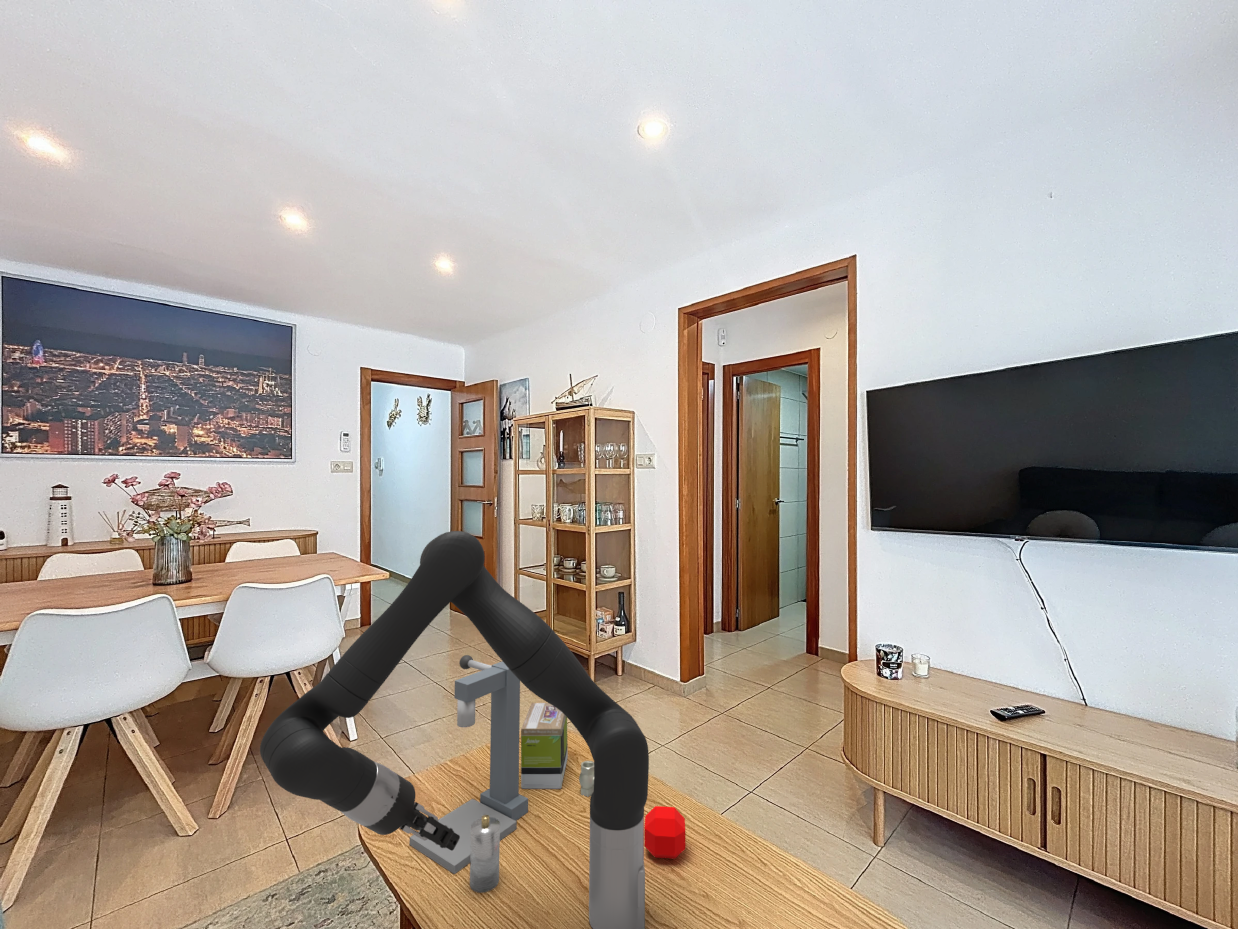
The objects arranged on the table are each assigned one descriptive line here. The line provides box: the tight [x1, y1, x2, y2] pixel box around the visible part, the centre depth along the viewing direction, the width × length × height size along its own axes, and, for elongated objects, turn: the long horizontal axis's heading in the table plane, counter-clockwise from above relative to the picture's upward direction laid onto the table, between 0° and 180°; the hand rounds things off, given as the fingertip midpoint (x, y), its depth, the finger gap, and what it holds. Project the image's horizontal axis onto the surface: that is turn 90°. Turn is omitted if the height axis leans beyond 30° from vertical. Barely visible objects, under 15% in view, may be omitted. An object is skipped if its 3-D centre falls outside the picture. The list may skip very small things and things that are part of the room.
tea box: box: [520, 702, 569, 790], centre depth 134 cm, size 15×10×15 cm
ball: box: [644, 805, 687, 860], centre depth 106 cm, size 8×8×8 cm
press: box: [409, 654, 529, 875], centre depth 115 cm, size 22×22×32 cm
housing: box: [469, 815, 501, 894], centre depth 98 cm, size 5×5×12 cm
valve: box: [578, 760, 594, 798], centre depth 124 cm, size 7×7×12 cm
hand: (439, 833), depth 89 cm, fingers open, 8 cm apart
